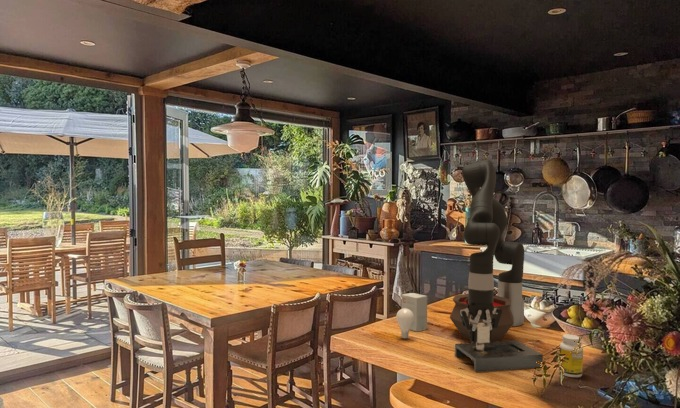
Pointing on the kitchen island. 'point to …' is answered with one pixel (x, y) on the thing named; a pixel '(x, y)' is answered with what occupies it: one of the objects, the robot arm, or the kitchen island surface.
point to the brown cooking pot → (496, 333)
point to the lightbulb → (405, 321)
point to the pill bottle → (571, 356)
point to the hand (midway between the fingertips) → (480, 341)
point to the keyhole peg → (482, 336)
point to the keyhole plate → (500, 356)
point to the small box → (416, 310)
